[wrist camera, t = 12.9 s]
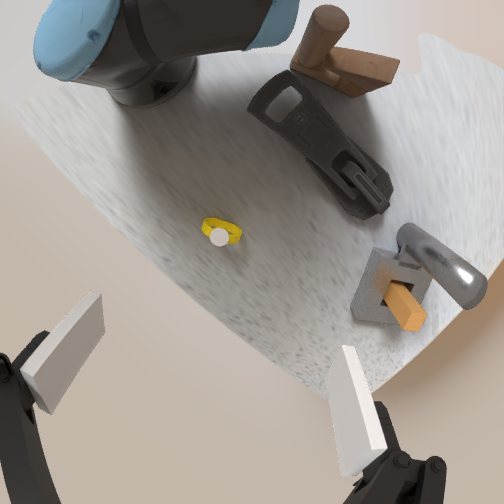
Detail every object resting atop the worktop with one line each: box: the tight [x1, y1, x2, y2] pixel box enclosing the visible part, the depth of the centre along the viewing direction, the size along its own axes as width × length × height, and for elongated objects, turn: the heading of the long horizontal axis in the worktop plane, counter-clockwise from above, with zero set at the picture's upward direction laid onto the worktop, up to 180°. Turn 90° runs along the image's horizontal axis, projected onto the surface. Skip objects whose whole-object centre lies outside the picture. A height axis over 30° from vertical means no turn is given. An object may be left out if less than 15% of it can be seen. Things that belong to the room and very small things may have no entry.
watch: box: [201, 218, 242, 247], centre depth 42 cm, size 6×3×6 cm, turn 70°
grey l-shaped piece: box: [350, 223, 488, 325], centre depth 37 cm, size 18×12×20 cm
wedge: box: [383, 279, 427, 332], centre depth 42 cm, size 3×3×12 cm
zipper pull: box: [247, 70, 393, 220], centre depth 37 cm, size 9×7×25 cm
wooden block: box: [290, 5, 400, 98], centre depth 27 cm, size 4×11×18 cm, turn 67°
